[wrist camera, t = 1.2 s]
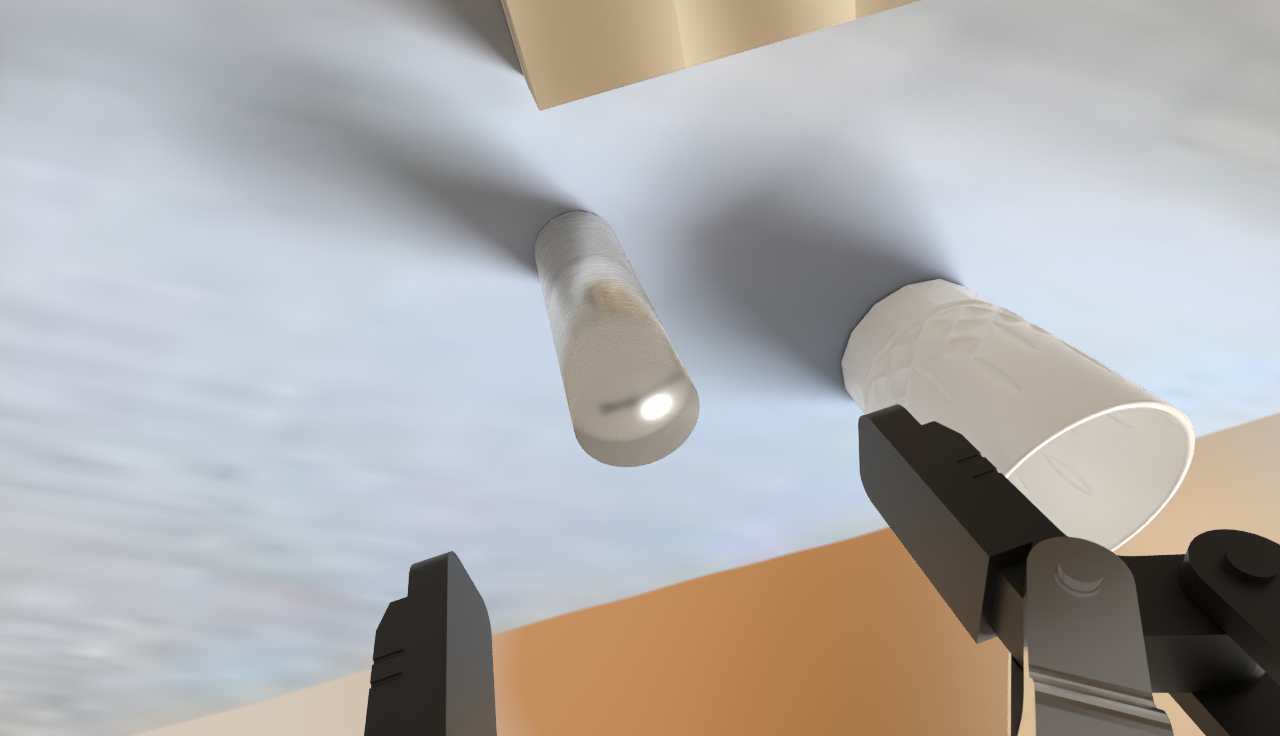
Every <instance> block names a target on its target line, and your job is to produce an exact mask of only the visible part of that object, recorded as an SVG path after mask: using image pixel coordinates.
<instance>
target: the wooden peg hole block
mask: <svg viewBox="0 0 1280 736" xmlns="http://www.w3.org/2000/svg"><path fill="white" fill-rule="evenodd" d="M916 1H920V0H501V3H502V6H503V9H504V13H505V16H506V19H507V22H508V26H509V29H510V32H511V36H512V39H513V42H514V46H515V49H516V52H517V56H518V59H519V62H520V65H521V69H522V72H523V75H524V78H525V80H526V82H527V85H528V87H529V89H530V91H531V93H532V96H533V98H534V100H535V102H536V104H537V107H538V109H539V111H541V110H544V109H547V108H551V107H554V106H558V105H561V104H565V103H568V102H572V101H575V100H578V99H582V98H585V97H589V96H592V95H596V94H599V93H603V92H606V91H609V90H613V89H616V88H620V87H623V86H627V85H630V84H634V83H637V82H641V81H644V80H647V79H651V78H654V77H658V76H661V75H665V74H668V73H672V72H675V71H678V70H682V69H685V68H689V67H692V66H696V65H699V64H703V63H706V62H709V61H713V60H716V59H720V58H723V57H727V56H730V55H734V54H737V53H740V52H744V51H747V50H751V49H754V48H758V47H761V46H765V45H768V44H772V43H775V42H778V41H782V40H785V39H789V38H792V37H796V36H799V35H803V34H806V33H809V32H813V31H816V30H820V29H823V28H827V27H830V26H834V25H837V24H840V23H844V22H847V21H851V20H854V19H858V18H861V17H865V16H868V15H872V14H875V13H878V12H882V11H885V10H889V9H892V8H896V7H899V6H903V5H906V4H909V3H913V2H916Z"/></svg>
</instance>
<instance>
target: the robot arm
mask: <svg viewBox="0 0 1280 736" xmlns="http://www.w3.org/2000/svg"><path fill="white" fill-rule="evenodd" d="M858 430H859V461H860V476H861V480H862V483H863V486H864V489H865V491H866V493H867V495H868V497H869V499H870V500H871V502H872V503H873V505H874V506H875V507H876V509H877V510H878V511H879V513H880V514H881V515H882V517H883V518H884V519H885V521H886V522H887V524H888V525H889V526H890V528H891V529H892V530H893V532H894V533H895V534H896V536H897V537H898V538H899V540H900V541H901V542H902V543H903V545H904V546H905V548H906V549H907V550H908V552H909V553H910V554H911V556H912V557H913V558H914V560H915V561H916V563H917V564H918V565H919V567H920V568H921V569H922V571H923V572H924V573H925V575H926V576H927V577H928V579H929V580H930V581H931V583H932V584H933V585H934V587H935V588H936V589H937V591H938V592H939V594H940V595H941V596H942V598H943V599H944V600H945V602H946V603H947V604H948V606H949V607H950V608H951V610H952V611H953V612H954V614H955V615H956V616H957V618H958V619H959V620H960V622H961V623H962V624H963V626H964V627H965V629H966V630H967V631H968V632H969V634H970V635H971V637H972V638H973V639H974V641H975V642H976V643H977V644H978V643H981V642H983V641H986V640H989V639H992V638H994V637H997V636H998V637H999V639H1000V640H1001V641H1002V642H1003V644H1004V645H1005V646H1006V648H1007V649H1008V650H1009V656H1008V734H1007V736H1174V734H1173V730H1172V726H1171V723H1170V720H1169V718H1168V716H1167V714H1166V713H1165V711H1163V710H1160V709H1157V708H1156V706H1155V704H1154V700H1153V696H1152V693H1169V694H1170V695H1171V696H1172V697H1173V698H1174V700H1175V701H1176V702H1177V703H1178V704H1179V705H1180V706H1181V708H1182V709H1183V710H1184V711H1185V712H1186V713H1187V714H1188V716H1189V717H1190V718H1191V719H1192V720H1193V721H1194V723H1195V724H1196V725H1197V726H1198V727H1199V728H1200V729H1201V731H1202V732H1203V733H1204V734H1205V735H1206V736H1280V545H1279V544H1277V543H1275V542H1273V541H1271V540H1269V539H1267V538H1264V537H1261V536H1259V535H1256V534H1252V533H1248V532H1244V531H1237V530H1227V529H1223V530H1212V531H1207V532H1205V533H1202V534H1200V535H1198V536H1197V537H1195V538H1194V539H1193V541H1192V542H1191V543H1190V545H1189V548H1188V550H1187V552H1186V554H1181V555H1157V556H1156V555H1154V556H1118V555H1115V554H1114V553H1113V552H1112V551H1110V550H1108V549H1107V548H1105V547H1103V546H1101V545H1099V544H1097V543H1094V542H1091V541H1088V540H1085V539H1080V538H1075V537H1068V536H1067V535H1065V534H1064V533H1063V532H1062V531H1061V530H1060V529H1059V528H1057V527H1056V526H1055V525H1054V524H1053V523H1052V522H1051V521H1050V520H1049V519H1048V518H1047V517H1046V516H1045V515H1044V514H1043V513H1042V512H1041V511H1040V510H1039V509H1038V508H1037V507H1036V506H1035V505H1034V504H1033V503H1032V502H1031V501H1030V500H1029V499H1028V498H1027V497H1026V496H1025V495H1024V494H1023V493H1022V492H1020V491H1019V490H1018V489H1017V488H1016V487H1015V486H1014V485H1013V484H1012V483H1011V482H1010V481H1009V480H1008V479H1007V478H1006V477H1005V476H1004V475H1003V474H1002V473H998V471H997V468H996V467H995V466H994V465H993V464H992V463H991V462H990V461H989V460H988V459H987V458H986V457H982V455H981V453H980V452H979V451H978V450H977V449H976V448H975V447H974V446H973V445H972V444H971V443H970V442H969V441H968V440H967V439H966V438H965V437H964V436H963V435H962V434H960V433H958V432H956V431H954V430H952V429H950V428H948V427H946V426H944V425H942V424H940V423H938V422H936V421H932V422H929V423H926V424H923V425H921V424H920V423H919V422H918V421H917V420H916V419H915V418H914V417H913V416H912V415H911V414H910V413H909V412H908V411H907V410H906V409H905V408H904V407H903V406H901V405H899V404H896V405H893V406H890V407H887V408H884V409H881V410H878V411H875V412H872V413H869V414H866V415H863V416H861V417H860V418H859V422H858ZM491 638H492V637H491V626H490V620H489V616H488V612H487V609H486V606H485V603H484V601H483V599H482V597H481V595H480V594H479V592H478V590H477V589H476V587H475V585H474V583H473V582H472V580H471V578H470V577H469V575H468V573H467V572H466V570H465V568H464V566H463V565H462V563H461V561H460V560H459V558H458V556H457V555H456V554H455V553H454V552H453V551H451V552H448V553H445V554H442V555H439V556H436V557H433V558H430V559H427V560H424V561H421V562H418V563H415V564H413V565H412V566H411V568H410V572H409V584H408V597H405V598H402V599H399V600H396V601H393V602H390V604H389V606H388V608H387V610H386V612H385V614H384V616H383V618H382V620H381V622H380V624H379V626H378V628H377V630H376V636H375V645H374V654H373V661H374V665H372V672H371V680H370V683H371V689H369V697H368V707H367V715H366V724H365V733H364V736H497V733H496V715H495V694H494V675H493V657H492V639H491Z"/></svg>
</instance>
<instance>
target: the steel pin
mask: <svg viewBox="0 0 1280 736" xmlns="http://www.w3.org/2000/svg"><path fill="white" fill-rule="evenodd" d="M535 261H536V265H537V270H538V274H539V278H540V283H541V287H542V292H543V296H544V300H545V305H546V309H547V314H548V318H549V322H550V327H551V331H552V335H553V340H554V344H555V349H556V353H557V357H558V362H559V366H560V371H561V375H562V379H563V384H564V388H565V393H566V397H567V401H568V406H569V410H570V414H571V419H572V423H573V428H574V432H575V435H576V438H577V440H578V443H579V444H580V446H581V447H582V449H583V450H584V451H585V452H586V453H587V454H589V455H590V456H591V457H592V458H594V459H596V460H598V461H600V462H602V463H605V464H608V465H612V466H618V467H635V466H641V465H646V464H649V463H652V462H655V461H658V460H660V459H662V458H664V457H666V456H667V455H669V454H670V453H672V452H673V451H675V450H676V449H677V448H678V447H680V446H681V445H682V444H683V443H684V442H685V440H686V439H687V438H688V437H689V435H690V434H691V432H692V431H693V429H694V427H695V425H696V422H697V419H698V415H699V398H698V394H697V391H696V389H695V387H694V385H693V383H692V381H691V379H690V377H689V375H688V374H687V372H686V370H685V368H684V366H683V364H682V362H681V360H680V358H679V356H678V354H677V352H676V350H675V349H674V347H673V345H672V343H671V341H670V339H669V337H668V335H667V333H666V331H665V329H664V327H663V325H662V324H661V322H660V320H659V318H658V316H657V314H656V312H655V310H654V308H653V306H652V304H651V302H650V300H649V299H648V297H647V295H646V293H645V291H644V289H643V287H642V285H641V283H640V281H639V279H638V277H637V275H636V274H635V272H634V270H633V268H632V266H631V264H630V262H629V260H628V258H627V256H626V254H625V252H624V250H623V249H622V247H621V245H620V243H619V241H618V239H617V237H616V235H615V233H614V231H613V230H612V228H611V227H610V225H609V224H608V223H607V222H606V221H605V220H603V219H602V218H600V217H599V216H597V215H595V214H592V213H589V212H584V211H572V212H567V213H564V214H561V215H559V216H557V217H555V218H553V219H552V220H550V221H549V222H548V223H547V224H546V225H545V226H544V227H543V229H542V230H541V232H540V233H539V235H538V237H537V240H536V243H535Z"/></svg>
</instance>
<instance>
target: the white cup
mask: <svg viewBox="0 0 1280 736" xmlns="http://www.w3.org/2000/svg"><path fill="white" fill-rule="evenodd" d="M841 364H842V371H843V377H844V383H845V389H846V390H847V392H848V393H849V395H850V396H851V397H852V398H853V400H854V401H855V402H856V404H857V405H858V406H859V407H860V409H861V410H862V411H863V413H864V414H865V415H866V414H869V413H872V412H875V411H878V410H881V409H884V408H887V407H890V406H893V405H896V404H899V405H901V406H903V407H904V408H905V409H906V410H907V411H908V412H909V413H910V414H911V415H912V416H913V417H914V418H915V419H916V420H917V421H918V422H919V423H920V424H921V425H923V424H926V423H929V422H932V421H936V422H938V423H940V424H942V425H944V426H946V427H948V428H950V429H952V430H954V431H956V432H958V433H960V434H962V435H963V436H964V437H965V438H966V439H967V440H968V441H969V442H970V443H971V444H972V445H973V446H974V447H975V448H976V449H977V450H978V451H979V452H980V453H981V455H982V457H986V458H987V459H988V460H989V461H990V462H991V463H992V464H993V465H994V466H995V467H996V468H997V471H998V473H1002V474H1003V475H1004V476H1005V477H1006V478H1007V479H1008V480H1009V481H1010V482H1011V483H1012V484H1013V485H1014V486H1015V487H1016V488H1017V489H1018V490H1019V491H1020V492H1022V493H1023V494H1024V495H1025V496H1026V497H1027V498H1028V499H1029V500H1030V501H1031V502H1032V503H1033V504H1034V505H1035V506H1036V507H1037V508H1038V509H1039V510H1040V511H1041V512H1042V513H1043V514H1044V515H1045V516H1046V517H1047V518H1048V519H1049V520H1050V521H1051V522H1052V523H1053V524H1054V525H1055V526H1056V527H1057V528H1059V529H1060V530H1061V531H1062V532H1063V533H1064V534H1065V535H1067V536H1068V537H1075V538H1080V539H1085V540H1088V541H1091V542H1094V543H1097V544H1099V545H1101V546H1103V547H1105V548H1107V549H1108V550H1110V551H1112V552H1113V551H1114V550H1115V549H1117V548H1119V547H1120V546H1121V545H1123V544H1124V543H1126V542H1127V541H1128V540H1129V539H1131V538H1132V537H1133V536H1134V535H1136V534H1137V533H1138V532H1139V531H1140V530H1142V529H1143V528H1144V527H1145V526H1146V525H1147V524H1148V523H1149V522H1150V521H1151V520H1152V519H1153V518H1154V517H1155V516H1156V515H1157V514H1158V513H1159V512H1160V511H1161V510H1162V508H1163V507H1164V506H1165V505H1166V504H1167V503H1168V501H1169V500H1170V499H1171V498H1172V496H1173V495H1174V493H1175V492H1176V490H1177V489H1178V487H1179V486H1180V484H1181V483H1182V481H1183V479H1184V477H1185V475H1186V473H1187V471H1188V468H1189V466H1190V463H1191V460H1192V457H1193V452H1194V445H1195V436H1194V430H1193V427H1192V424H1191V422H1190V420H1189V419H1188V417H1187V416H1186V415H1185V414H1184V413H1183V412H1182V411H1181V410H1179V409H1178V408H1176V407H1175V406H1173V405H1171V404H1169V403H1168V402H1166V401H1164V400H1163V399H1161V398H1159V397H1158V396H1156V395H1154V394H1152V393H1151V392H1149V391H1147V390H1146V389H1144V388H1142V387H1141V386H1139V385H1137V384H1136V383H1134V382H1132V381H1130V380H1129V379H1127V378H1125V377H1124V376H1122V375H1120V374H1119V373H1117V372H1115V371H1114V370H1112V369H1110V368H1109V367H1107V366H1105V365H1104V364H1102V363H1100V362H1099V361H1097V360H1095V359H1094V358H1092V357H1090V356H1089V355H1087V354H1085V353H1084V352H1082V351H1080V350H1079V349H1077V348H1075V347H1074V346H1072V345H1070V344H1069V343H1067V342H1065V341H1063V340H1062V339H1060V338H1058V337H1056V336H1054V335H1052V334H1051V333H1049V332H1047V331H1045V330H1043V329H1042V328H1040V327H1038V326H1036V325H1034V324H1032V323H1030V322H1029V321H1028V320H1026V319H1024V318H1022V317H1021V316H1019V315H1017V314H1015V313H1013V312H1011V311H1010V310H1007V309H1005V308H1003V307H1001V306H997V305H995V304H994V303H992V302H990V301H989V300H987V299H985V298H984V297H982V296H981V295H979V294H977V293H976V292H974V291H972V290H971V289H969V288H967V287H964V286H961V285H958V284H955V283H952V282H949V281H945V280H942V279H936V280H930V281H925V282H919V283H914V284H909V285H906V286H904V287H902V288H901V289H899V290H897V291H896V292H894V293H892V294H891V295H889V296H887V297H886V298H884V299H883V300H881V301H879V302H878V303H876V304H875V305H874V306H873V307H872V308H871V309H870V311H869V312H868V313H867V314H866V315H865V317H864V318H863V319H862V320H861V321H860V323H859V324H858V325H857V326H856V327H855V329H854V330H853V331H852V333H851V335H850V338H849V341H848V344H847V347H846V350H845V353H844V356H843V359H842V362H841Z"/></svg>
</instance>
